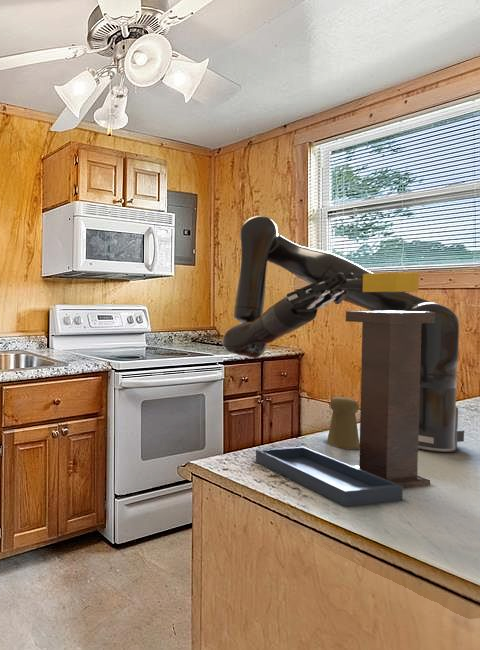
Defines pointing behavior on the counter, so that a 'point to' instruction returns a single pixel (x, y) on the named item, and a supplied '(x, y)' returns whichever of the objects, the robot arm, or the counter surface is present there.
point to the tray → (330, 476)
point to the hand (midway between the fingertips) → (348, 276)
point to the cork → (344, 424)
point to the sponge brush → (384, 282)
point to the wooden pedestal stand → (390, 393)
